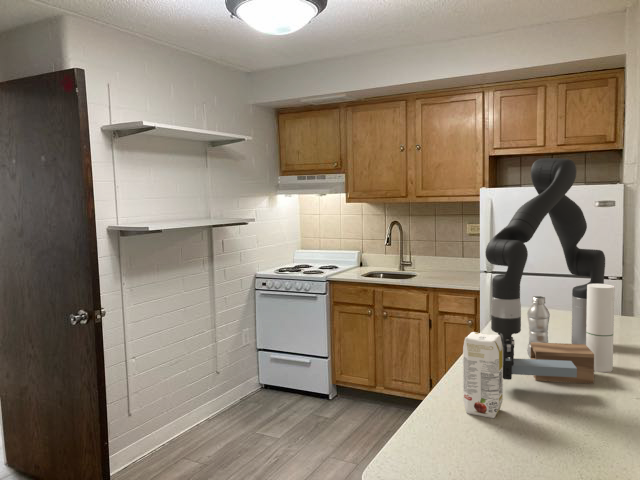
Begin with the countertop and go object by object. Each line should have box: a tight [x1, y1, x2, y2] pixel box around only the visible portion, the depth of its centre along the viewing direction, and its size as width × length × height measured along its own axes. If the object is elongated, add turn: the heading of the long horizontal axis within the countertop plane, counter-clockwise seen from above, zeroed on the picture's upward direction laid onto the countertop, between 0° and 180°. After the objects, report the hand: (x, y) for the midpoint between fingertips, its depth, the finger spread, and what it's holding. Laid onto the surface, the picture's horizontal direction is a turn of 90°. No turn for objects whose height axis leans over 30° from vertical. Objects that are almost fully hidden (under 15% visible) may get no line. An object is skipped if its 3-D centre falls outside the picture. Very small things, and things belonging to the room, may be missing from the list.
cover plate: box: [506, 357, 577, 377], centre depth 138 cm, size 6×20×2 cm, turn 77°
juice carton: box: [462, 331, 504, 419], centre depth 127 cm, size 8×9×19 cm
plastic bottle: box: [526, 295, 551, 358], centre depth 164 cm, size 6×7×20 cm
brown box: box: [529, 342, 595, 385], centre depth 149 cm, size 9×15×8 cm, turn 77°
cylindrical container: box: [586, 283, 615, 373], centre depth 154 cm, size 7×7×25 cm
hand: (505, 374), depth 140 cm, fingers closed on cover plate, 6 cm apart
